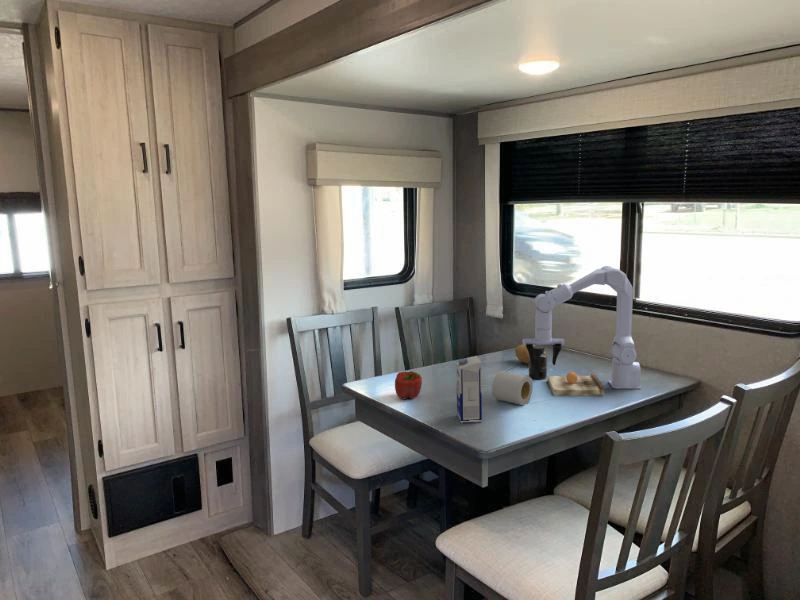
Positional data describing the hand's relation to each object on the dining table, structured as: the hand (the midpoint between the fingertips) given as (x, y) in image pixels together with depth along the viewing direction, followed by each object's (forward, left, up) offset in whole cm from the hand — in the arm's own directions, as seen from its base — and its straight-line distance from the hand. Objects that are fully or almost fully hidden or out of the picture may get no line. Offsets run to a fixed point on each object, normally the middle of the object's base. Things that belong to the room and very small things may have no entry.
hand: (543, 364), depth 214 cm
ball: (-10, 0, -5) cm, 11 cm away
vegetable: (+48, +10, -9) cm, 50 cm away
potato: (+1, -31, -9) cm, 32 cm away
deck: (-11, 0, -9) cm, 15 cm away
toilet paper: (+12, +14, -9) cm, 21 cm away
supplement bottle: (0, -13, -9) cm, 16 cm away
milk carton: (+27, +30, -9) cm, 42 cm away
